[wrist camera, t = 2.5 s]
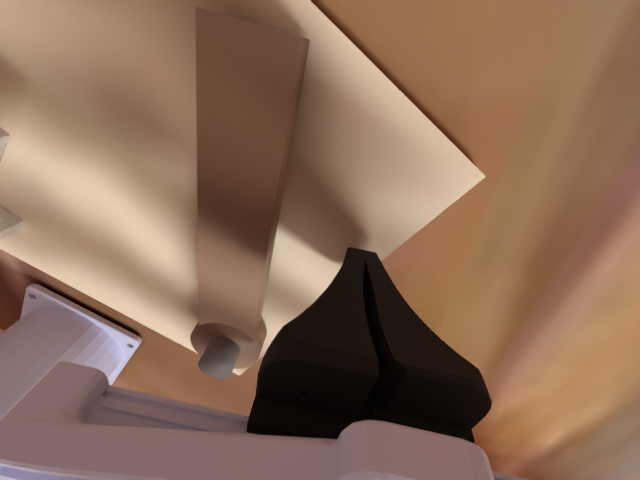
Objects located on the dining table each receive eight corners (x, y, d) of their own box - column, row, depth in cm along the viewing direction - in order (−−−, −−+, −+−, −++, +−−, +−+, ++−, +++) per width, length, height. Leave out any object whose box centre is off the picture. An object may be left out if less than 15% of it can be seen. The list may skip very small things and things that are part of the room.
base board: (244, 363, 22) (239, 375, 21) (-48, 204, 16) (-70, 211, 16) (476, 168, 12) (485, 176, 11) (-63, -373, 7) (-124, -434, 6)
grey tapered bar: (263, 350, 19) (248, 396, 16) (204, 335, 18) (179, 379, 16) (325, 44, 9) (312, 39, 7) (206, 10, 9) (147, -9, 7)
